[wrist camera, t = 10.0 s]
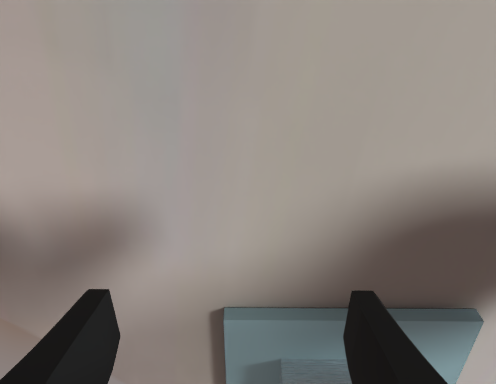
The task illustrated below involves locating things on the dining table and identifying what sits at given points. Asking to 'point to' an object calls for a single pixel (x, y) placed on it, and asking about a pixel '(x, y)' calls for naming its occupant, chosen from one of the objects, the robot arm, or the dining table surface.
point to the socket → (314, 371)
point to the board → (336, 338)
